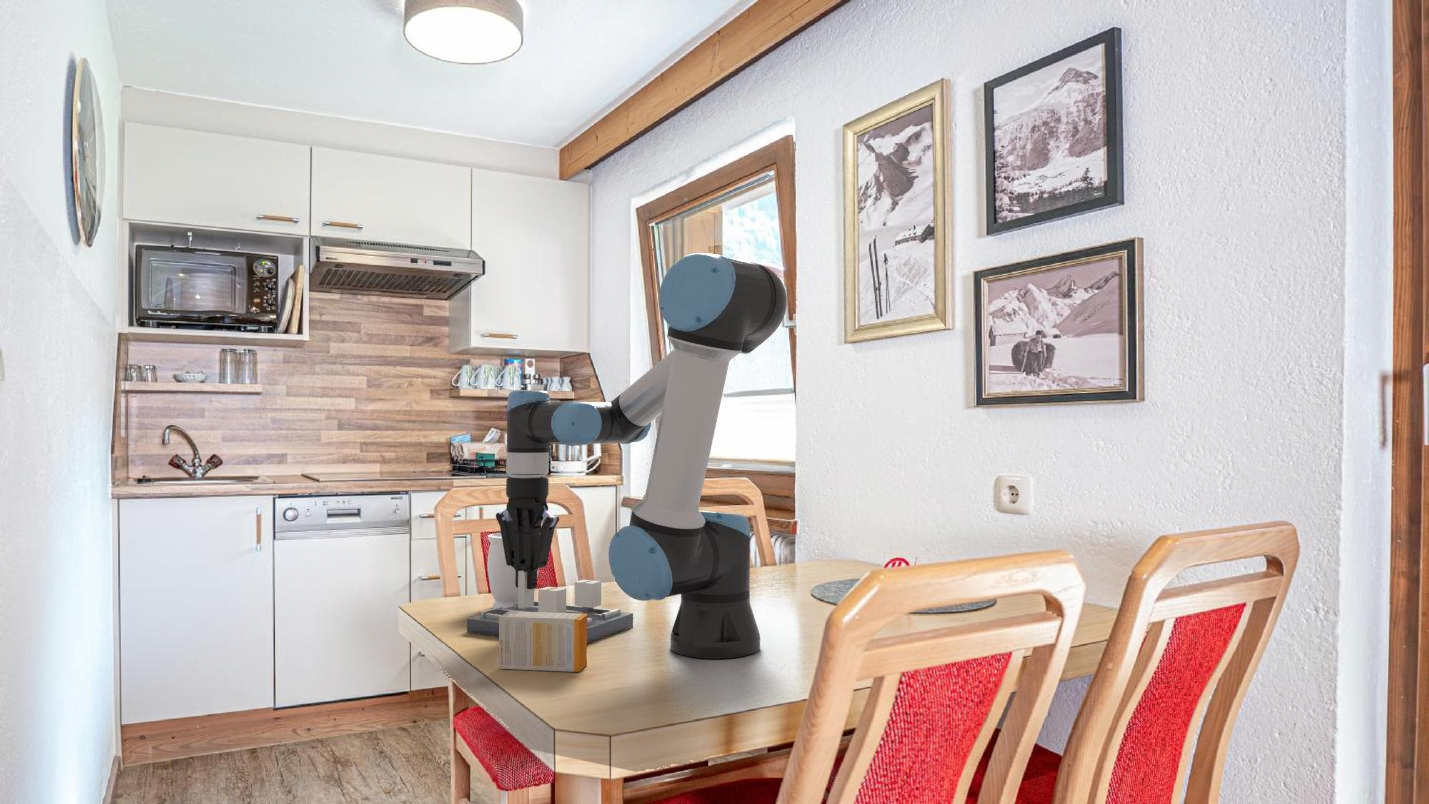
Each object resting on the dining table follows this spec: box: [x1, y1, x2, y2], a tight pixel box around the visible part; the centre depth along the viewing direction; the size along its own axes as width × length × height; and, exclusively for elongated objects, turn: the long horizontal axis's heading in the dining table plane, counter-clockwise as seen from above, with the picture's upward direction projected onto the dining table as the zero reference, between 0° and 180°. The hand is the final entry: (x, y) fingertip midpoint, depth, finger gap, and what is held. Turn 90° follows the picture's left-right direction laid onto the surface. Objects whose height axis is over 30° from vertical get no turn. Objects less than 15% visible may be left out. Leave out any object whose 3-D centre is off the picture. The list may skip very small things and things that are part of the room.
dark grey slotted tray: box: [466, 600, 634, 644], centre depth 171 cm, size 24×18×4 cm
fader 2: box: [574, 579, 602, 613], centre depth 173 cm, size 4×3×6 cm
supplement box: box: [498, 611, 588, 673], centre depth 145 cm, size 8×5×13 cm
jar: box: [486, 532, 540, 609], centre depth 191 cm, size 11×10×15 cm
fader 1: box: [537, 586, 567, 613], centre depth 165 cm, size 4×3×6 cm
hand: (525, 606), depth 168 cm, fingers closed
